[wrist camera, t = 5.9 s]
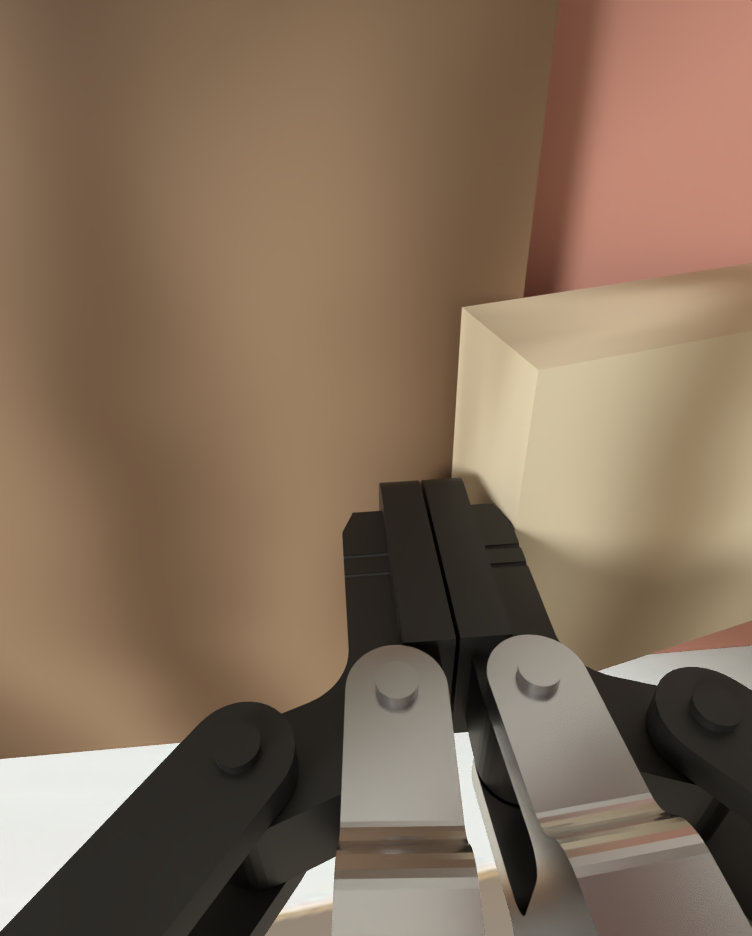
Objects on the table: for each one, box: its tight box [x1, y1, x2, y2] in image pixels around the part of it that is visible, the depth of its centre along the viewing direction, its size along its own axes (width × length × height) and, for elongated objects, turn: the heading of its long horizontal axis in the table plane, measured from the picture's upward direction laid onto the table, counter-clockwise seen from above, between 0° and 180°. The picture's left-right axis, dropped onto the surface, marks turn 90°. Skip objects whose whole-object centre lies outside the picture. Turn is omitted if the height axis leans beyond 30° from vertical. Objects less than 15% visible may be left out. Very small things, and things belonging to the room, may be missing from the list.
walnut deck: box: [0, 0, 559, 759], centre depth 13 cm, size 14×18×2 cm
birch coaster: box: [452, 263, 752, 671], centre depth 13 cm, size 8×8×2 cm
